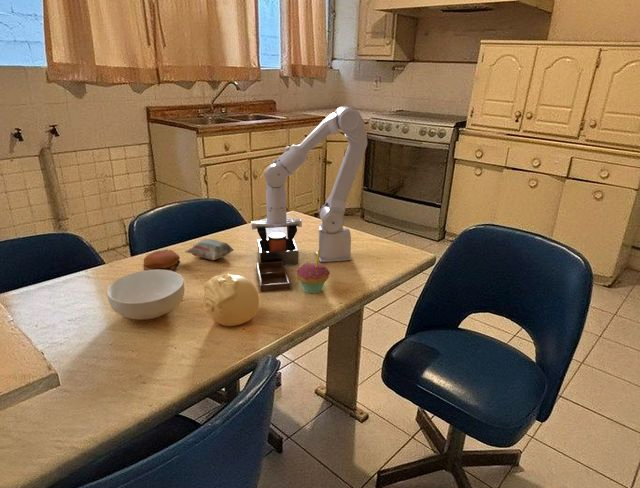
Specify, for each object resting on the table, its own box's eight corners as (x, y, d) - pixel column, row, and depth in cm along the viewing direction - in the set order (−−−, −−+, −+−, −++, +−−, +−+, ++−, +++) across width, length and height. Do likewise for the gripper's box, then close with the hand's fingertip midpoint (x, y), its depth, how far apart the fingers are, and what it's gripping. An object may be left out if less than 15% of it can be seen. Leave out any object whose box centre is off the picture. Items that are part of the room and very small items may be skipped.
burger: (141, 276, 124) (138, 260, 122) (148, 263, 133) (146, 248, 131) (178, 274, 126) (176, 259, 124) (183, 261, 134) (181, 246, 132)
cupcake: (334, 286, 120) (335, 243, 116) (320, 299, 113) (320, 255, 108) (305, 280, 123) (305, 238, 119) (290, 292, 116) (289, 249, 112)
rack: (282, 267, 131) (282, 261, 130) (289, 289, 118) (289, 283, 117) (256, 269, 130) (256, 263, 129) (260, 292, 116) (260, 285, 116)
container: (285, 253, 140) (284, 231, 137) (287, 259, 135) (287, 237, 132) (268, 254, 139) (267, 232, 136) (269, 260, 134) (269, 238, 131)
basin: (293, 250, 143) (292, 237, 141) (298, 264, 133) (298, 250, 131) (258, 253, 141) (257, 239, 139) (260, 267, 131) (260, 252, 129)
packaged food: (214, 266, 131) (213, 250, 129) (185, 257, 137) (183, 242, 135) (234, 256, 138) (234, 241, 136) (206, 249, 144) (204, 234, 142)
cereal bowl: (111, 301, 111) (106, 275, 108) (182, 290, 117) (179, 265, 114) (111, 336, 96) (105, 307, 94) (191, 321, 102) (188, 293, 100)
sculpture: (199, 314, 106) (195, 272, 102) (248, 302, 111) (246, 261, 107) (215, 337, 97) (211, 292, 92) (267, 323, 102) (265, 280, 98)
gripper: (251, 211, 126) (253, 256, 131) (303, 209, 129) (303, 253, 134) (250, 204, 132) (252, 248, 137) (299, 202, 135) (299, 245, 140)
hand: (277, 250), depth 136 cm, fingers open, 6 cm apart
